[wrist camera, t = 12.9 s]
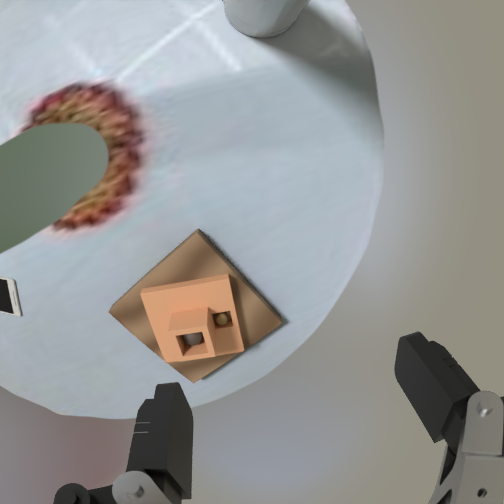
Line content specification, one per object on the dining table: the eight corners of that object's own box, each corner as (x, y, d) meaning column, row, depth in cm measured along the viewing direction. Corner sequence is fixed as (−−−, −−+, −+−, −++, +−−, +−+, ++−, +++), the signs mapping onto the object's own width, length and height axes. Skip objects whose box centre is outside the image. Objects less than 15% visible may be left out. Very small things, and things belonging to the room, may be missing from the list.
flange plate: (166, 356, 46) (162, 382, 40) (142, 288, 41) (132, 311, 36) (243, 345, 46) (247, 371, 41) (228, 273, 42) (230, 295, 36)
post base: (112, 305, 44) (99, 329, 38) (198, 228, 41) (194, 245, 35) (194, 375, 50) (192, 402, 44) (280, 315, 47) (288, 341, 41)
